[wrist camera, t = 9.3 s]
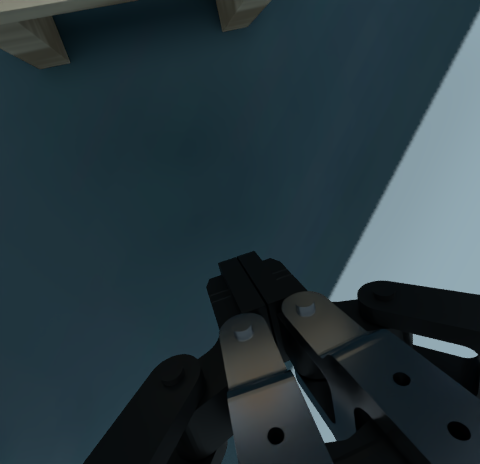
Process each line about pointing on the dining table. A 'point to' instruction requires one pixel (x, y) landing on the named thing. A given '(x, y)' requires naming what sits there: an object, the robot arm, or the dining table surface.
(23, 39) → the bridge
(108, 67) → the dining table surface
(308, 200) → the dining table surface
